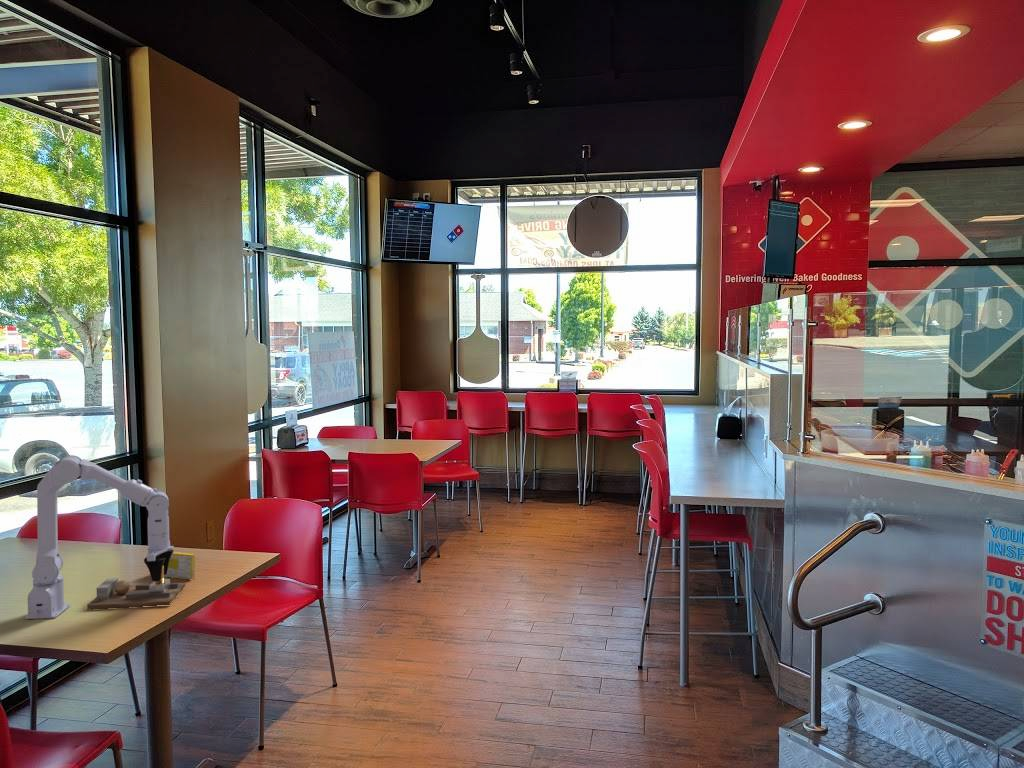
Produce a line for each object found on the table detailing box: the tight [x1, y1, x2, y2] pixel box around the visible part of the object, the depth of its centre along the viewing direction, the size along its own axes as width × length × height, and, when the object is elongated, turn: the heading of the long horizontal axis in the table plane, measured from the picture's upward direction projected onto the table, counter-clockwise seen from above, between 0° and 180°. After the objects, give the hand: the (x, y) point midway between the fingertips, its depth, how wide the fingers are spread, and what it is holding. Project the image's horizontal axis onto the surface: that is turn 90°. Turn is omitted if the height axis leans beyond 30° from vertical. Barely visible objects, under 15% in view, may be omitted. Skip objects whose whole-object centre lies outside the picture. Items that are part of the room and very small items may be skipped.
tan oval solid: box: [114, 579, 131, 594], centre depth 216 cm, size 4×4×4 cm
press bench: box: [86, 577, 186, 611], centre depth 217 cm, size 16×22×5 cm
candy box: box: [164, 551, 196, 580], centre depth 236 cm, size 16×2×8 cm, turn 74°
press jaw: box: [149, 565, 171, 593], centre depth 217 cm, size 6×4×8 cm, turn 9°
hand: (159, 577), depth 217 cm, fingers open, 5 cm apart
